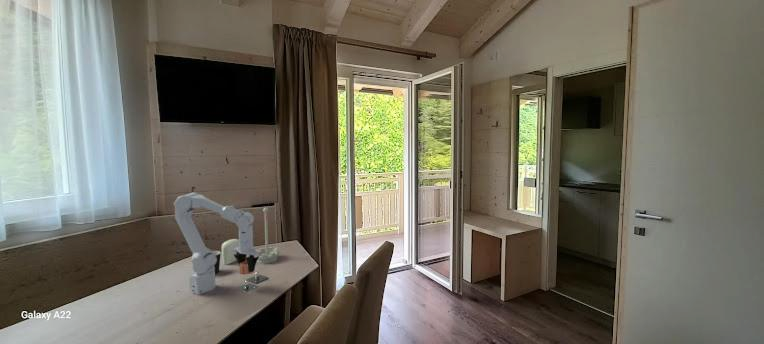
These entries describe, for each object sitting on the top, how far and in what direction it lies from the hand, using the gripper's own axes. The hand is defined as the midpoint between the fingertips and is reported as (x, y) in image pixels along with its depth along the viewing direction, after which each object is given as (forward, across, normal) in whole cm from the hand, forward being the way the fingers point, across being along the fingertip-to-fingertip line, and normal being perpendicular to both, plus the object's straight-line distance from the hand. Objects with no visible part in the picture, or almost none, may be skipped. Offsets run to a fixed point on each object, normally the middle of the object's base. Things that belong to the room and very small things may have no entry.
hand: (247, 269), depth 140 cm
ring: (+1, 0, 0) cm, 1 cm away
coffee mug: (+9, +33, -2) cm, 34 cm away
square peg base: (+9, +3, -7) cm, 12 cm away
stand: (+9, 0, +1) cm, 9 cm away
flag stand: (+9, +22, -29) cm, 37 cm away
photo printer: (+9, +37, -16) cm, 41 cm away
